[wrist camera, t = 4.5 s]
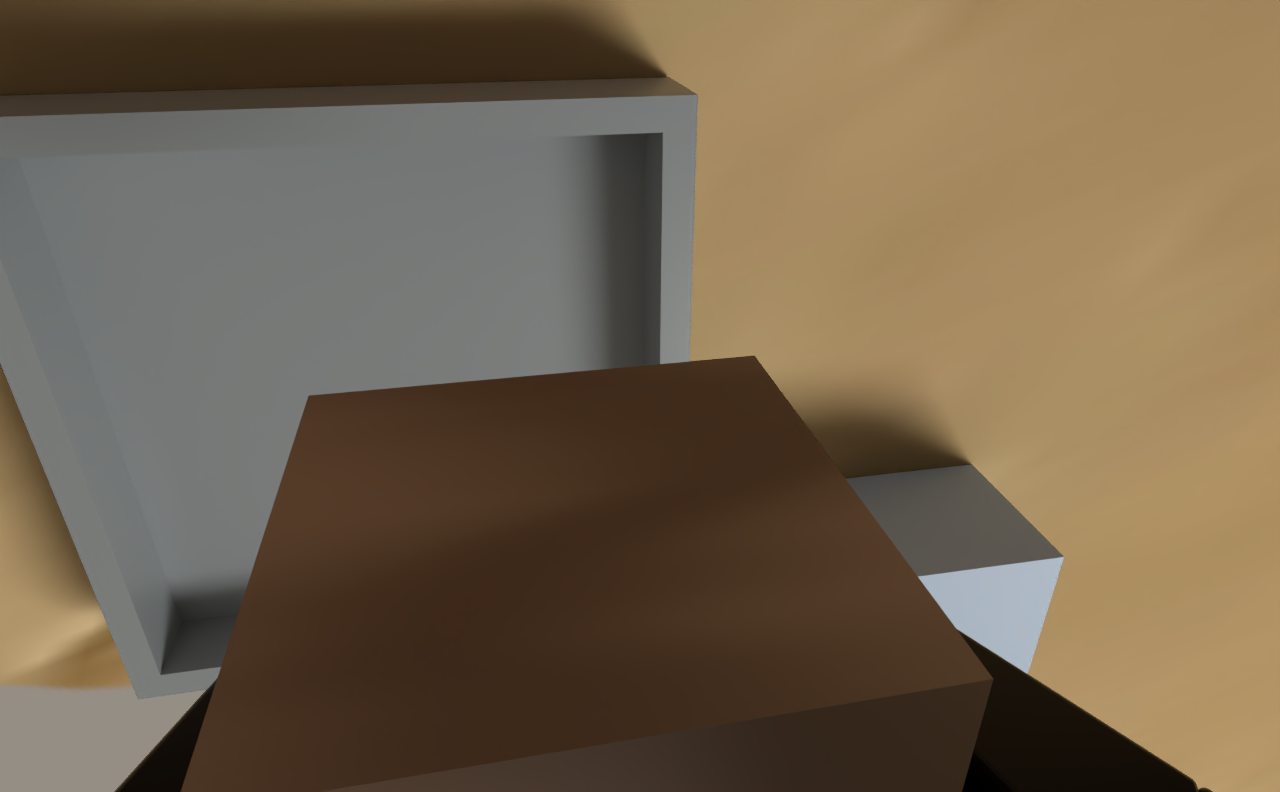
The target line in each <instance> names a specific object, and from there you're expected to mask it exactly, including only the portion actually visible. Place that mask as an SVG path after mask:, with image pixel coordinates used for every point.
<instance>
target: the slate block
mask: <svg viewBox="0 0 1280 792" xmlns="http://www.w3.org/2000/svg"><path fill="white" fill-rule="evenodd" d="M846 480H847V482H848V483H849V484H850V486H851V487H852V488H853V490H854V491H855V492H856V494H857V495H858V496H859V498H860V499H861V500H862V502H863V503H864V505H865V506H866V507H867V509H868V510H869V511H870V513H871V514H872V515H873V517H874V518H875V519H876V521H877V522H878V523H879V525H880V526H881V528H882V529H883V530H884V532H885V533H886V534H887V536H888V537H889V538H890V540H891V541H892V542H893V544H894V545H895V546H896V548H897V549H898V551H899V552H900V553H901V555H902V556H903V557H904V559H905V560H906V561H907V563H908V564H909V565H910V567H911V568H912V569H913V571H914V572H915V574H916V575H917V576H918V578H919V579H920V580H921V582H922V583H923V584H924V586H925V587H926V588H927V590H928V591H929V592H930V594H931V595H932V597H933V598H934V599H935V601H936V602H937V603H938V605H939V606H940V607H941V609H942V610H943V611H944V613H945V614H946V615H947V617H948V618H949V620H950V621H951V622H952V624H953V625H954V626H955V628H956V629H958V630H959V631H961V632H962V633H964V634H966V635H967V636H969V637H970V638H972V639H973V640H975V641H977V642H978V643H980V644H981V645H983V646H984V647H986V648H988V649H989V650H991V651H992V652H994V653H995V654H997V655H999V656H1000V657H1002V658H1003V659H1005V660H1006V661H1008V662H1010V663H1011V664H1013V665H1014V666H1016V667H1017V668H1019V669H1021V670H1022V671H1024V672H1025V673H1027V674H1028V671H1029V668H1030V665H1031V662H1032V658H1033V655H1034V652H1035V649H1036V646H1037V642H1038V639H1039V636H1040V633H1041V629H1042V626H1043V623H1044V620H1045V617H1046V613H1047V610H1048V607H1049V604H1050V600H1051V597H1052V594H1053V591H1054V588H1055V584H1056V581H1057V578H1058V575H1059V572H1060V568H1061V565H1062V562H1063V559H1064V556H1063V555H1062V554H1061V553H1060V552H1059V551H1058V550H1057V549H1056V548H1055V547H1054V546H1053V545H1052V544H1051V543H1050V542H1049V541H1048V540H1047V539H1046V538H1045V537H1044V536H1043V535H1042V534H1041V533H1040V532H1039V531H1038V530H1037V529H1036V528H1035V527H1034V526H1033V525H1032V524H1031V523H1030V522H1029V521H1028V520H1027V519H1026V518H1025V517H1024V516H1023V515H1022V514H1021V513H1020V512H1019V511H1018V510H1017V509H1016V508H1015V507H1014V506H1013V505H1012V504H1011V503H1010V502H1009V501H1008V500H1007V499H1006V498H1005V497H1004V496H1003V495H1002V494H1001V493H1000V492H999V491H998V490H997V489H996V488H995V487H994V486H993V485H992V484H991V483H990V482H989V481H988V480H987V479H986V478H985V477H984V476H983V475H982V474H981V473H980V472H979V471H978V470H977V469H976V468H975V467H974V466H973V465H972V464H971V465H962V466H953V467H944V468H935V469H927V470H918V471H909V472H900V473H891V474H882V475H873V476H864V477H855V478H846Z"/></svg>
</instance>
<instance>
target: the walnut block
mask: <svg viewBox="0 0 1280 792" xmlns="http://www.w3.org/2000/svg"><path fill="white" fill-rule="evenodd" d="M992 683H993V678H992V676H991V675H990V674H989V672H988V671H987V670H986V668H985V667H984V665H983V664H982V663H981V661H980V660H979V659H978V657H977V656H976V655H975V653H974V652H973V651H972V649H971V648H970V647H969V645H968V644H967V642H966V641H965V640H964V638H963V637H962V636H961V634H960V633H959V632H958V630H957V629H956V628H955V626H954V625H953V624H952V622H951V621H950V620H949V618H948V617H947V615H946V614H945V613H944V611H943V610H942V609H941V607H940V606H939V605H938V603H937V602H936V601H935V599H934V598H933V597H932V595H931V594H930V592H929V591H928V590H927V588H926V587H925V586H924V584H923V583H922V582H921V580H920V579H919V578H918V576H917V575H916V574H915V572H914V571H913V569H912V568H911V567H910V565H909V564H908V563H907V561H906V560H905V559H904V557H903V556H902V555H901V553H900V552H899V551H898V549H897V548H896V546H895V545H894V544H893V542H892V541H891V540H890V538H889V537H888V536H887V534H886V533H885V532H884V530H883V529H882V528H881V526H880V525H879V523H878V522H877V521H876V519H875V518H874V517H873V515H872V514H871V513H870V511H869V510H868V509H867V507H866V506H865V505H864V503H863V502H862V500H861V499H860V498H859V496H858V495H857V494H856V492H855V491H854V490H853V488H852V487H851V486H850V484H849V483H848V482H847V480H846V479H845V477H844V476H843V475H842V473H841V472H840V471H839V469H838V468H837V467H836V465H835V464H834V463H833V461H832V460H831V459H830V457H829V456H828V454H827V453H826V452H825V450H824V449H823V448H822V446H821V445H820V444H819V442H818V441H817V440H816V438H815V437H814V436H813V434H812V433H811V432H810V430H809V429H808V427H807V426H806V425H805V423H804V422H803V421H802V419H801V418H800V417H799V415H798V414H797V413H796V411H795V410H794V409H793V407H792V406H791V404H790V403H789V402H788V400H787V399H786V398H785V396H784V395H783V394H782V392H781V391H780V390H779V388H778V387H777V386H776V384H775V383H774V381H773V380H772V379H771V377H770V376H769V375H768V373H767V372H766V371H765V369H764V368H763V367H762V365H761V364H760V363H759V361H758V360H757V358H756V357H755V356H746V357H735V358H723V359H712V360H701V361H690V362H679V363H667V364H656V365H645V366H634V367H623V368H612V369H600V370H589V371H578V372H567V373H556V374H544V375H533V376H522V377H511V378H500V379H488V380H477V381H466V382H455V383H444V384H432V385H421V386H410V387H399V388H388V389H376V390H365V391H354V392H343V393H332V394H320V395H309V396H308V399H307V402H306V405H305V408H304V411H303V414H302V417H301V420H300V424H299V427H298V430H297V433H296V436H295V439H294V442H293V445H292V448H291V451H290V455H289V458H288V461H287V464H286V467H285V470H284V473H283V476H282V479H281V482H280V486H279V489H278V492H277V495H276V498H275V501H274V504H273V507H272V510H271V513H270V517H269V520H268V523H267V526H266V529H265V532H264V535H263V538H262V541H261V544H260V548H259V551H258V554H257V557H256V560H255V563H254V566H253V569H252V572H251V575H250V579H249V582H248V585H247V588H246V591H245V594H244V597H243V600H242V603H241V606H240V610H239V613H238V616H237V619H236V622H235V625H234V628H233V631H232V634H231V637H230V640H229V644H228V647H227V650H226V653H225V656H224V659H223V662H222V665H221V668H220V671H219V675H218V678H217V681H216V684H215V687H214V690H213V693H212V696H211V699H210V702H209V706H208V709H207V712H206V715H205V718H204V721H203V724H202V727H201V730H200V733H199V737H198V740H197V743H196V746H195V749H194V752H193V755H192V758H191V761H190V764H189V768H188V771H187V774H186V777H185V780H184V783H183V786H182V789H181V792H962V790H963V786H964V783H965V779H966V775H967V772H968V768H969V765H970V761H971V758H972V754H973V750H974V747H975V743H976V740H977V736H978V733H979V729H980V725H981V722H982V718H983V715H984V711H985V708H986V704H987V700H988V697H989V693H990V690H991V686H992Z"/></svg>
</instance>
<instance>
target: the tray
mask: <svg viewBox="0 0 1280 792" xmlns="http://www.w3.org/2000/svg"><path fill="white" fill-rule="evenodd" d="M697 104H698V95H697V94H696V93H694V92H692V91H691V90H689V89H687V88H686V87H684V86H683V85H681V84H679V83H678V82H676V81H674V80H673V79H671V78H670V77H660V78H624V79H588V80H552V81H516V82H479V83H443V84H407V85H371V86H335V87H299V88H262V89H226V90H190V91H154V92H118V93H82V94H46V95H9V96H0V364H1V366H2V369H3V371H4V374H5V376H6V379H7V381H8V384H9V386H10V388H11V391H12V393H13V396H14V398H15V401H16V403H17V405H18V408H19V410H20V413H21V415H22V418H23V420H24V423H25V425H26V427H27V430H28V432H29V435H30V437H31V440H32V442H33V445H34V447H35V449H36V452H37V454H38V457H39V459H40V462H41V464H42V466H43V469H44V471H45V474H46V476H47V479H48V481H49V484H50V486H51V488H52V491H53V493H54V496H55V498H56V501H57V503H58V506H59V508H60V510H61V513H62V515H63V518H64V520H65V523H66V525H67V527H68V530H69V532H70V535H71V537H72V540H73V542H74V545H75V547H76V549H77V552H78V554H79V557H80V559H81V562H82V564H83V567H84V569H85V571H86V574H87V576H88V579H89V581H90V584H91V586H92V588H93V591H94V593H95V596H96V598H97V601H98V603H99V606H100V608H101V610H102V613H103V615H104V618H105V620H106V623H107V625H108V627H109V630H110V632H111V635H112V637H113V640H114V642H115V645H116V647H117V649H118V652H119V654H120V657H121V659H122V662H123V664H124V667H125V669H126V671H127V674H128V676H129V679H130V681H131V684H132V686H133V688H134V691H135V693H136V696H137V698H138V699H144V698H151V697H158V696H165V695H171V694H179V693H186V692H194V691H201V690H207V689H208V688H209V687H210V685H211V684H212V683H213V682H214V681H215V680H216V679H217V678H218V675H219V671H220V668H221V665H222V662H223V659H224V656H225V653H226V650H227V647H228V644H229V640H230V637H231V634H232V631H233V628H234V625H235V622H236V619H237V616H238V613H239V610H240V606H241V603H242V600H243V597H244V594H245V591H246V588H247V585H248V582H249V579H250V575H251V572H252V569H253V566H254V563H255V560H256V557H257V554H258V551H259V548H260V544H261V541H262V538H263V535H264V532H265V529H266V526H267V523H268V520H269V517H270V513H271V510H272V507H273V504H274V501H275V498H276V495H277V492H278V489H279V486H280V482H281V479H282V476H283V473H284V470H285V467H286V464H287V461H288V458H289V455H290V451H291V448H292V445H293V442H294V439H295V436H296V433H297V430H298V427H299V424H300V420H301V417H302V414H303V411H304V408H305V405H306V402H307V399H308V396H309V395H320V394H332V393H343V392H354V391H365V390H376V389H388V388H399V387H410V386H421V385H432V384H444V383H455V382H466V381H477V380H488V379H500V378H511V377H522V376H533V375H544V374H556V373H567V372H578V371H589V370H600V369H612V368H623V367H634V366H645V365H656V364H667V363H679V362H689V360H690V328H691V296H692V264H693V232H694V200H695V168H696V136H697Z"/></svg>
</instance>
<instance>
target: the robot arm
mask: <svg viewBox="0 0 1280 792" xmlns="http://www.w3.org/2000/svg"><path fill="white" fill-rule="evenodd" d="M957 630H958V629H957ZM958 632H959V633H960V634H961V636H962V637H963V638H964V640H965V641H966V642H967V644H968V645H969V647H970V648H971V649H972V651H973V652H974V653H975V655H976V656H977V657H978V659H979V660H980V661H981V663H982V664H983V665H984V667H985V668H986V670H987V671H988V672H989V674H990V675H991V676H992V678H993V683H992V686H991V690H990V693H989V697H988V700H987V704H986V708H985V711H984V715H983V718H982V722H981V725H980V729H979V733H978V736H977V740H976V743H975V747H974V750H973V754H972V758H971V761H970V765H969V768H968V772H967V775H966V779H965V783H964V786H963V790H962V792H1212V791H1211V790H1209V789H1207V788H1200V789H1198V787H1197V785H1196V783H1195V781H1194V780H1193V779H1191V778H1190V777H1188V776H1187V775H1185V774H1184V773H1182V772H1181V771H1179V770H1177V769H1176V768H1174V767H1173V766H1171V765H1170V764H1168V763H1166V762H1165V761H1163V760H1162V759H1160V758H1159V757H1157V756H1155V755H1154V754H1152V753H1151V752H1149V751H1148V750H1146V749H1144V748H1143V747H1141V746H1140V745H1138V744H1137V743H1135V742H1133V741H1132V740H1130V739H1129V738H1127V737H1126V736H1124V735H1122V734H1121V733H1119V732H1118V731H1116V730H1115V729H1113V728H1111V727H1110V726H1108V725H1107V724H1105V723H1104V722H1102V721H1101V720H1099V719H1097V718H1096V717H1094V716H1093V715H1091V714H1090V713H1088V712H1086V711H1085V710H1083V709H1082V708H1080V707H1079V706H1077V705H1075V704H1074V703H1072V702H1071V701H1069V700H1068V699H1066V698H1064V697H1063V696H1061V695H1060V694H1058V693H1057V692H1055V691H1053V690H1052V689H1050V688H1049V687H1047V686H1046V685H1044V684H1042V683H1041V682H1039V681H1038V680H1036V679H1035V678H1033V677H1032V676H1030V675H1028V674H1027V673H1025V672H1024V671H1022V670H1021V669H1019V668H1017V667H1016V666H1014V665H1013V664H1011V663H1010V662H1008V661H1006V660H1005V659H1003V658H1002V657H1000V656H999V655H997V654H995V653H994V652H992V651H991V650H989V649H988V648H986V647H984V646H983V645H981V644H980V643H978V642H977V641H975V640H973V639H972V638H970V637H969V636H967V635H966V634H964V633H962V632H961V631H959V630H958ZM216 681H217V679H216V680H215V681H214V682H213V683H212V684H211V685H210V687H209V688H208V689H207V690H206V691H205V692H204V693H203V694H202V695H201V697H200V698H199V699H198V700H197V701H196V702H195V703H194V704H193V705H192V706H191V708H190V709H189V710H188V711H187V712H186V713H185V714H184V715H183V716H182V718H181V719H180V720H179V721H178V722H177V723H176V724H175V725H174V726H173V727H172V729H171V730H170V731H169V732H168V733H167V734H166V735H165V736H164V737H163V738H162V740H161V741H160V742H159V743H158V744H157V745H156V746H155V747H154V749H153V750H152V751H151V752H150V753H149V754H148V755H147V756H146V757H145V758H144V760H143V761H142V762H141V763H140V764H139V765H138V766H137V767H136V768H135V770H134V771H133V772H132V773H131V774H130V775H129V776H128V777H127V778H126V780H125V781H124V782H123V783H122V784H121V785H120V786H119V787H118V788H117V789H116V790H115V792H181V789H182V786H183V783H184V780H185V777H186V774H187V771H188V768H189V764H190V761H191V758H192V755H193V752H194V749H195V746H196V743H197V740H198V737H199V733H200V730H201V727H202V724H203V721H204V718H205V715H206V712H207V709H208V706H209V702H210V699H211V696H212V693H213V690H214V687H215V684H216Z"/></svg>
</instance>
